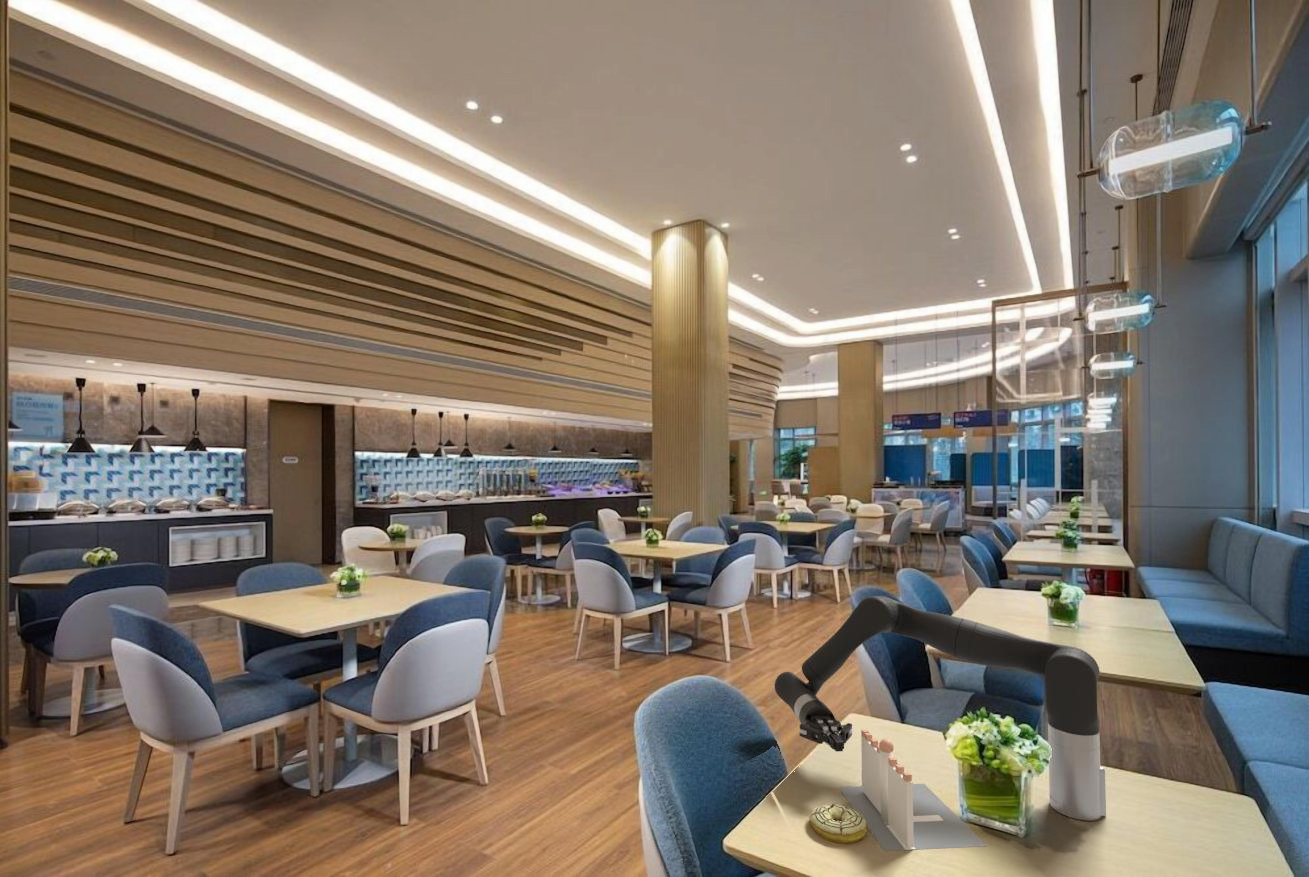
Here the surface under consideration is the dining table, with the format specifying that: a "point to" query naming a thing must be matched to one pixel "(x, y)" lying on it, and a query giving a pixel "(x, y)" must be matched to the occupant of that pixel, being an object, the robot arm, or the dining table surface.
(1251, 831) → the dining table surface
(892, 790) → the fence post and fixed panel
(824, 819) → the decorated donut
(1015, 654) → the robot arm
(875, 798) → the white crenellated wall panel
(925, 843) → the card
